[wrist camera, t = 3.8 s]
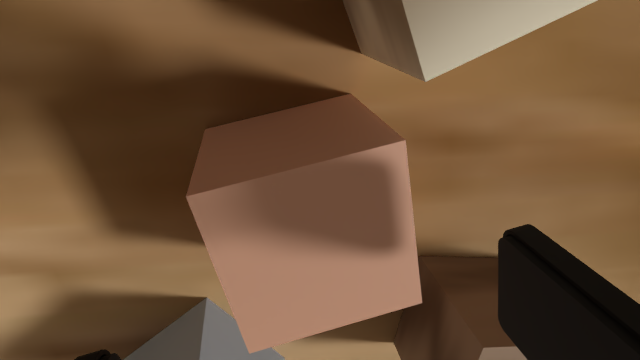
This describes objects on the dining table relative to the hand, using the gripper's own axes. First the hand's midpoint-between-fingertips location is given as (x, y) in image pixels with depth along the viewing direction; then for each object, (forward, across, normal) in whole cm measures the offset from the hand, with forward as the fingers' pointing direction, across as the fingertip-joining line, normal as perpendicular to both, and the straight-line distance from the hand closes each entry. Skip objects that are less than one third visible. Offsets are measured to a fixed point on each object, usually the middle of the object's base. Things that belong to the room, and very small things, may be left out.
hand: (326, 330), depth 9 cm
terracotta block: (+8, 0, 0) cm, 9 cm away
